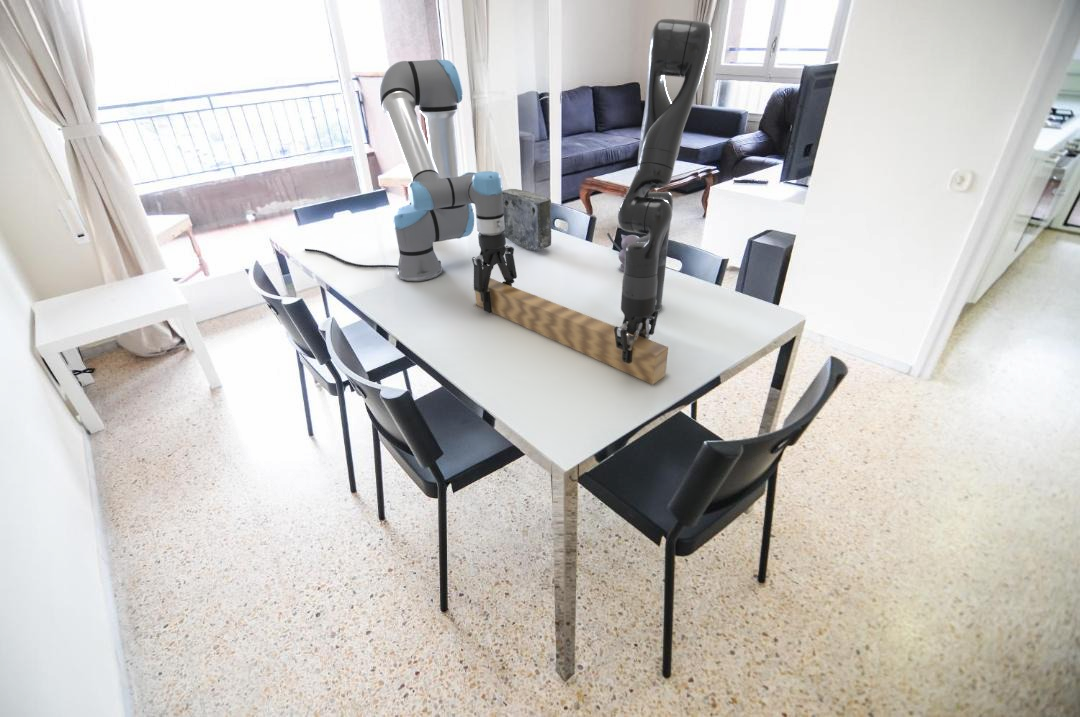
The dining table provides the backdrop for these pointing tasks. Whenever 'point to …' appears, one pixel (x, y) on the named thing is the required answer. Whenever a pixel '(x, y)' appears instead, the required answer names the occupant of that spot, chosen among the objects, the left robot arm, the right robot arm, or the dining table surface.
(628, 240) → the cat figurine
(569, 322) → the beam
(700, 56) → the right robot arm
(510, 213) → the concrete block
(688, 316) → the dining table surface
